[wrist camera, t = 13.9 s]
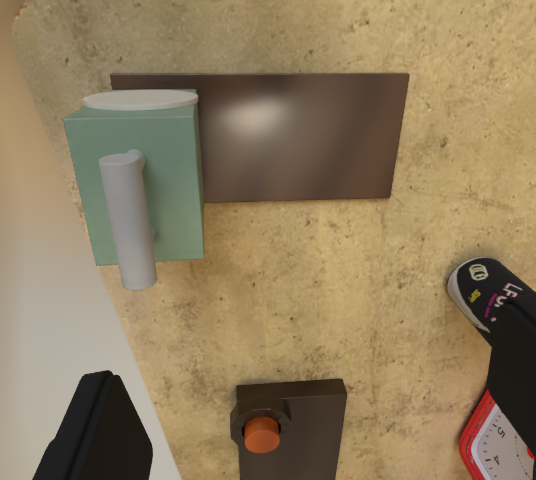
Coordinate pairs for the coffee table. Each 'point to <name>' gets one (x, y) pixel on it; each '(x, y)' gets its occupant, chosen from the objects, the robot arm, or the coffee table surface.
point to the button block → (292, 429)
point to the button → (261, 435)
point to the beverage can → (484, 291)
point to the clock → (140, 178)
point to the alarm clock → (494, 446)
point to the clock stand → (291, 132)
